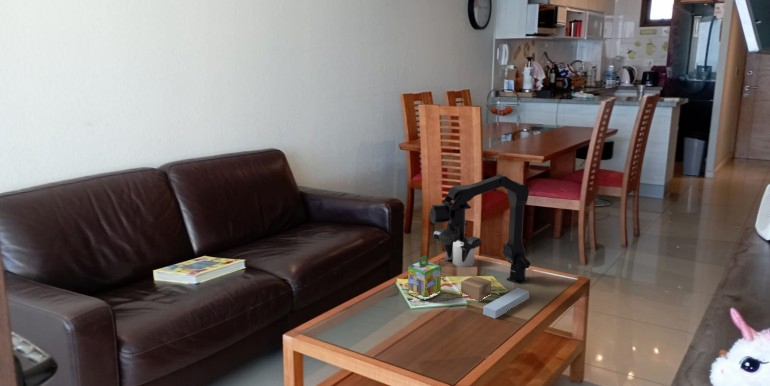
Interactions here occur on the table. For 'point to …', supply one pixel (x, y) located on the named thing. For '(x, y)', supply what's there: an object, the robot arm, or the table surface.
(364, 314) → the table surface
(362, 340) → the table surface
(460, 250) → the toilet tissue
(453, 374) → the table surface
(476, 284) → the block
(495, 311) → the pale grey long bar
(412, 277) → the chalk box
